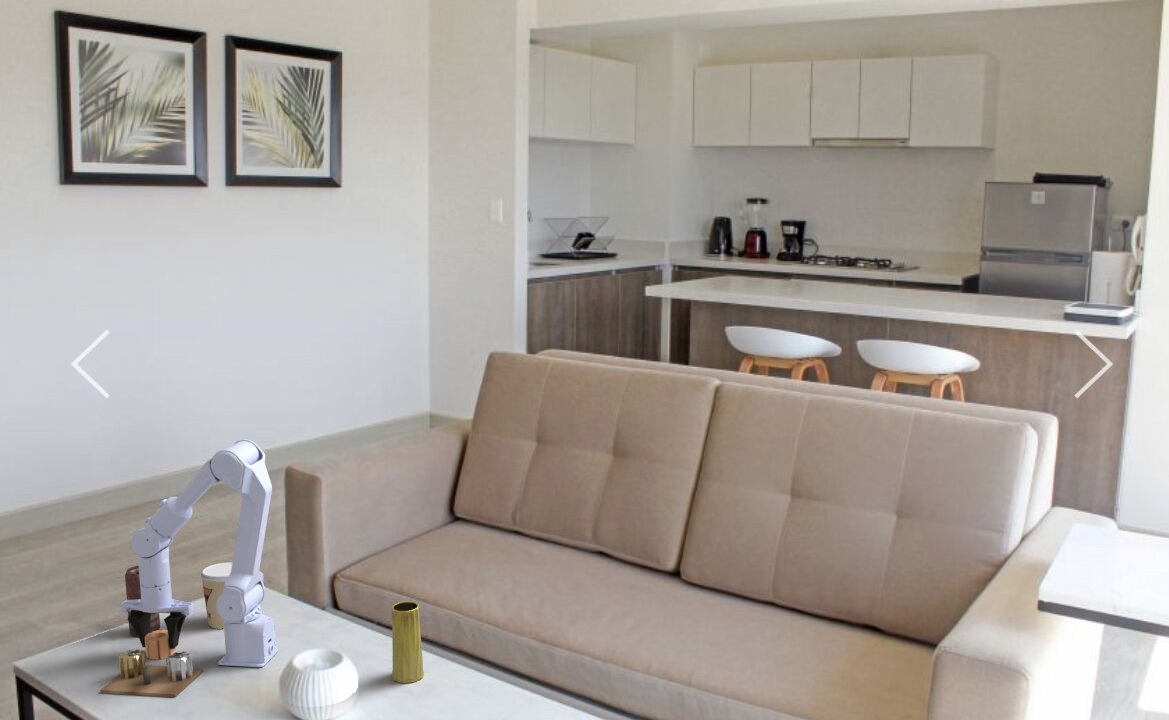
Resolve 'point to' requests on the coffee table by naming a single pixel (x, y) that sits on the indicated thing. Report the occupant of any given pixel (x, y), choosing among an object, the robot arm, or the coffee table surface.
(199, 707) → the coffee table surface
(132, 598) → the can
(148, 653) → the idler gear
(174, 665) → the gear
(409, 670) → the vase
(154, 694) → the gear board
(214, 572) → the coffee cup
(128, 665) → the gear
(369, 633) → the coffee table surface
